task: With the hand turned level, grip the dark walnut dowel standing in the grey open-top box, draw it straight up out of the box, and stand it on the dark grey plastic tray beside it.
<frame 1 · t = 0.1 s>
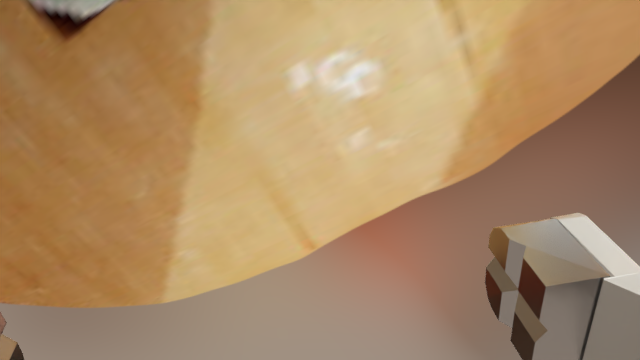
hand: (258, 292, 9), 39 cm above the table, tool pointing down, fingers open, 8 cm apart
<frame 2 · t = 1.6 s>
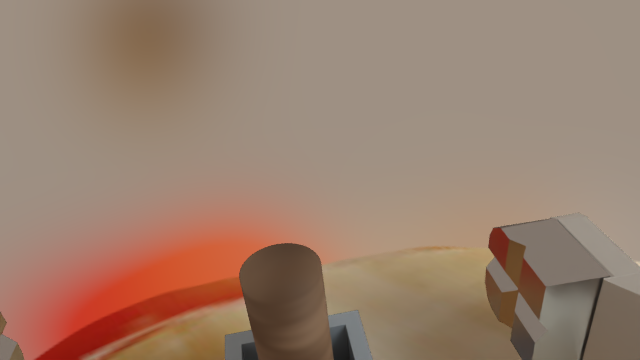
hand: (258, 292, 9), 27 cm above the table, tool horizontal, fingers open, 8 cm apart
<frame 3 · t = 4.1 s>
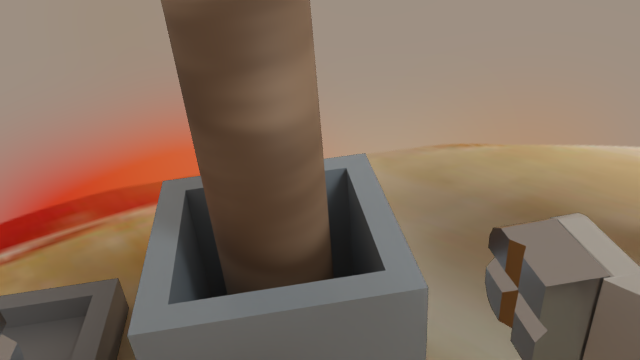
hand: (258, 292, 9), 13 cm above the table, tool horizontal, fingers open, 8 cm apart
walnut dowel: (271, 225, 18), in the grey open-top box
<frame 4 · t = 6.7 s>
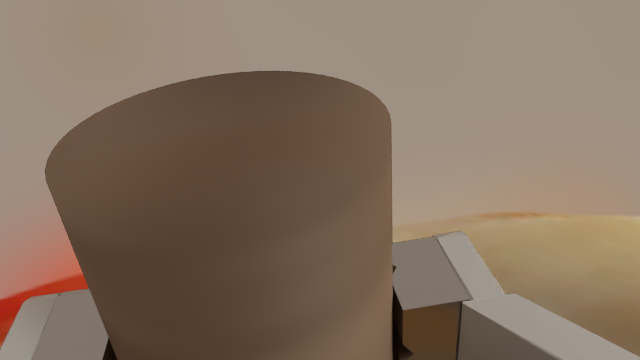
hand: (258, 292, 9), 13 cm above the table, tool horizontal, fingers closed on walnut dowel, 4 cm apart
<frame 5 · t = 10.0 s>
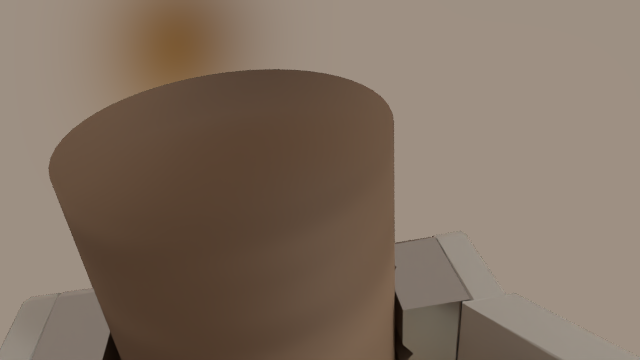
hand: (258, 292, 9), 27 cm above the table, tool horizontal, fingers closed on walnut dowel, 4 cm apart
when the fingers open (14 cm above the table, at t = 13.6 s): walnut dowel drops 1 cm, resting on tray.
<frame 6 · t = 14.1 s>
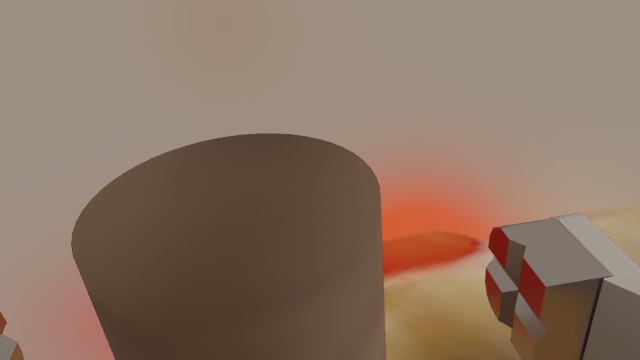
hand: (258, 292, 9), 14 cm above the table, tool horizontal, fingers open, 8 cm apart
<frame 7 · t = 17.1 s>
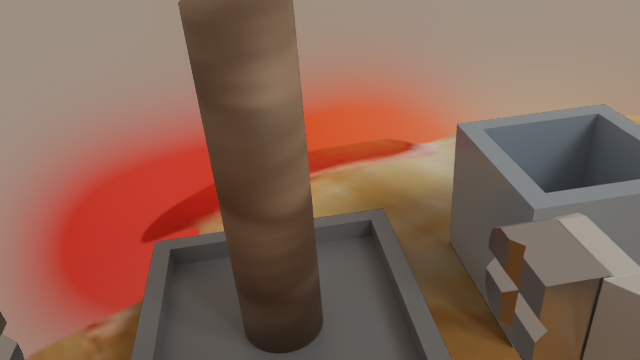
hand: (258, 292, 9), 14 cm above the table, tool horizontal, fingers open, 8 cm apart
grey open-top box: (550, 275, 29), on the table
walnut dowel: (264, 188, 23), in the tray, point 9 cm above the table
tray: (284, 333, 27), on the table
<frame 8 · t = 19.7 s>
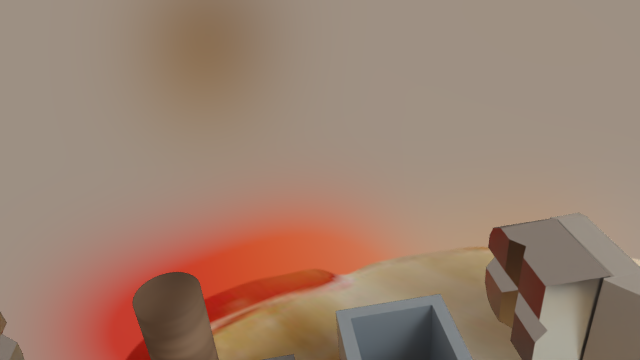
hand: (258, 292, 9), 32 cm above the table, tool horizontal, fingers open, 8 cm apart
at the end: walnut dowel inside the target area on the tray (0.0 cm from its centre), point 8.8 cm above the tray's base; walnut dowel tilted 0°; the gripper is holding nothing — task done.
